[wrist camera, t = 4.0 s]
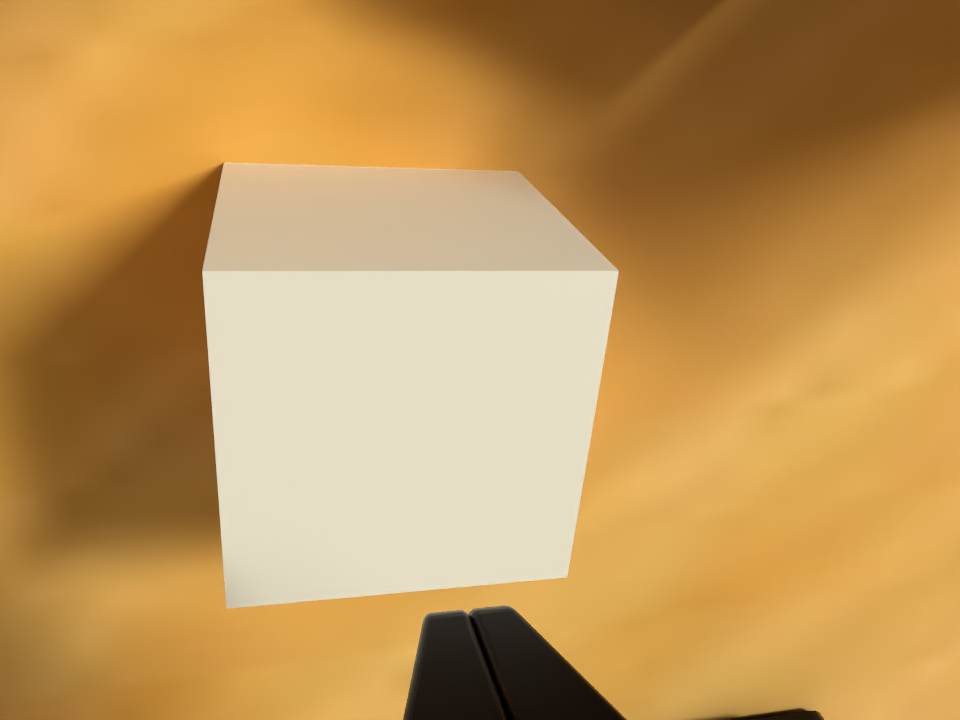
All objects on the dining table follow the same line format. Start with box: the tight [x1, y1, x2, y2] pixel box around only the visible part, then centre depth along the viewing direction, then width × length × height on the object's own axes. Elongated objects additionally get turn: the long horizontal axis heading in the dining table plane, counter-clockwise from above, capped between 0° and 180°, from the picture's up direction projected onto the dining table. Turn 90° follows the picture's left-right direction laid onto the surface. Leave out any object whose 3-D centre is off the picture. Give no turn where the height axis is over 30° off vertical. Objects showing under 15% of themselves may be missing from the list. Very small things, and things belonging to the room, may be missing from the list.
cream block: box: [202, 162, 619, 609], centre depth 13 cm, size 5×5×5 cm
